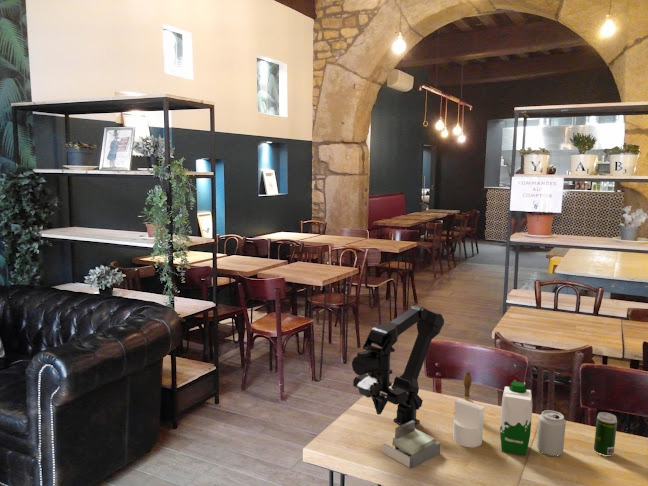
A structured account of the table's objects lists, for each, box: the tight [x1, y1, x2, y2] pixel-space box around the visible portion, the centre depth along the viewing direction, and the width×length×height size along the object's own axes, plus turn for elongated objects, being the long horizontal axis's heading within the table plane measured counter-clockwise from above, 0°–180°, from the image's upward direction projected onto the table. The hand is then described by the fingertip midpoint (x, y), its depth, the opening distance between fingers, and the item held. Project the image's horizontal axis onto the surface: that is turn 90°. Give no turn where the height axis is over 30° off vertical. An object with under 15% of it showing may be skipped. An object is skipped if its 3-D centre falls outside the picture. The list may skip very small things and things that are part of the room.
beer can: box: [593, 411, 618, 456], centre depth 160 cm, size 5×5×12 cm
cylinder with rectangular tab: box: [452, 398, 485, 448], centre depth 166 cm, size 9×9×12 cm
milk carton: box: [499, 380, 533, 457], centre depth 161 cm, size 9×9×20 cm
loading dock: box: [381, 441, 441, 470], centre depth 159 cm, size 13×12×4 cm
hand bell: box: [462, 370, 474, 403], centre depth 183 cm, size 8×8×16 cm
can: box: [536, 409, 567, 457], centre depth 161 cm, size 8×8×12 cm
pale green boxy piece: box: [392, 420, 436, 456], centre depth 158 cm, size 10×8×6 cm
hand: (379, 413), depth 168 cm, fingers closed
